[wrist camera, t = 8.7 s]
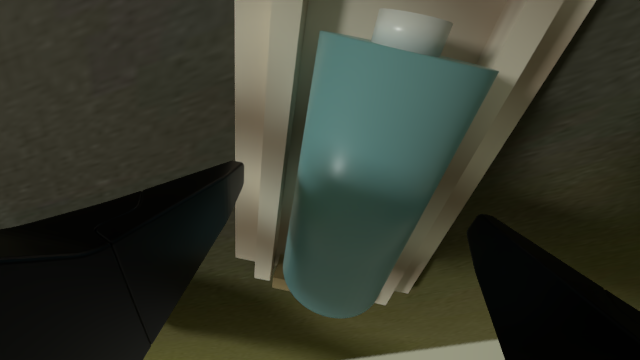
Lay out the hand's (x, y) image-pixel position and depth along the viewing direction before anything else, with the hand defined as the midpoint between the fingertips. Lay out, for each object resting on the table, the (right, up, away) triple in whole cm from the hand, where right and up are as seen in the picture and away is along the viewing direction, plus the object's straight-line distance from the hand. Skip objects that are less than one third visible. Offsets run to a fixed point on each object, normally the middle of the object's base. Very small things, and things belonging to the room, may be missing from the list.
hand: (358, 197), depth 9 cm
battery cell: (0, +2, +3) cm, 3 cm away
